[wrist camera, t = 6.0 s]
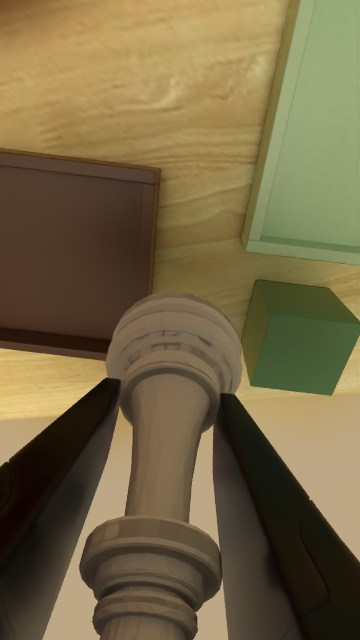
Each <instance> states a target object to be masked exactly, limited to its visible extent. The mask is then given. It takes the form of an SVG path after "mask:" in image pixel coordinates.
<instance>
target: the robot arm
mask: <svg viewBox="0 0 360 640" xmlns="http://www.w3.org/2000/svg"><path fill="white" fill-rule="evenodd" d="M120 392H121V380H120V379H117V378H109V377H108V378H105V379H104V380H103V381H101V382H100V383H99V384H98V385H97V386H95V387H94V388H93V389H92V390H91V391H89V392H88V393H87V394H86V395H85V396H84V397H82V398H81V399H80V400H79V401H78V402H76V403H75V404H74V405H73V406H72V407H71V408H69V409H68V410H67V411H66V412H65V413H63V414H62V415H61V416H60V417H59V418H57V420H55V421H54V422H53V423H52V424H51V425H49V426H48V427H47V428H46V429H45V430H43V431H42V432H41V433H40V434H39V435H37V436H36V437H35V438H34V439H33V440H31V441H30V442H29V443H28V444H27V445H25V446H24V447H23V448H22V449H21V450H20V451H18V452H17V453H16V454H15V455H14V456H13V457H11V458H10V459H9V462H5V463H4V464H3V465H2V466H0V640H42V639H43V636H44V633H45V630H46V628H47V625H48V622H49V619H50V617H51V614H52V611H53V608H54V605H55V603H56V600H57V597H58V594H59V591H60V589H61V586H62V583H63V580H64V577H65V575H66V572H67V569H68V567H69V564H70V561H71V558H72V555H73V553H74V550H75V547H76V545H77V542H78V539H79V536H80V534H81V531H82V528H83V525H84V523H85V519H86V517H87V514H88V511H89V509H90V506H91V503H92V500H93V498H94V495H95V492H96V489H97V487H98V483H99V481H100V478H101V475H102V473H103V470H104V467H105V464H106V461H107V458H108V454H109V450H110V446H111V442H112V437H113V433H114V429H115V425H116V420H117V416H118V412H119V407H120V400H119V396H120ZM213 427H214V429H213V431H214V432H213V482H214V493H215V504H216V513H217V525H218V535H219V545H220V554H221V557H222V575H223V576H222V577H223V587H224V598H225V608H226V619H227V628H228V639H229V640H360V562H359V560H358V559H357V558H356V557H355V556H354V554H353V553H352V552H351V551H350V550H349V548H348V547H347V546H346V545H345V543H344V542H343V541H342V540H341V539H340V537H339V536H338V535H337V533H336V532H335V531H334V529H333V528H332V527H331V525H330V524H329V523H328V522H327V520H326V519H325V518H324V516H323V515H322V514H321V512H320V511H319V509H318V508H317V507H316V505H315V504H314V503H313V501H312V500H309V499H310V498H309V496H308V495H307V493H306V492H305V490H304V489H303V488H302V486H301V485H300V483H299V482H298V481H297V480H296V478H295V477H294V475H293V474H292V473H291V471H290V470H289V468H288V467H287V466H286V464H285V463H284V462H283V460H282V459H281V457H280V456H279V455H278V453H277V452H276V450H275V449H274V448H273V447H272V445H271V444H270V442H269V441H268V439H267V438H266V437H265V435H264V434H263V433H262V431H261V430H260V428H259V427H258V426H257V424H256V423H255V422H254V420H253V419H252V417H251V416H250V415H249V413H248V412H247V411H246V409H245V408H244V406H243V405H242V404H241V402H240V401H239V400H238V398H237V397H236V396H235V395H234V394H231V393H223V392H222V393H220V404H219V408H218V412H217V416H216V420H215V423H214V426H213Z"/></svg>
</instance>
